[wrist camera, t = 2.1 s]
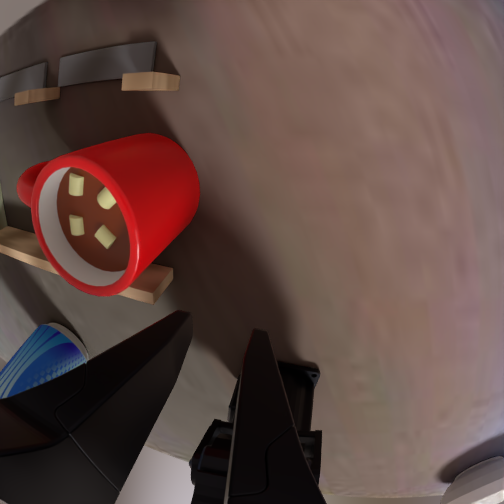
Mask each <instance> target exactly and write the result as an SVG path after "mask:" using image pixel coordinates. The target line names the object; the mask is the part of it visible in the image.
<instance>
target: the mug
mask: <svg viewBox="0 0 504 504" xmlns="http://www.w3.org/2000/svg"><path fill="white" fill-rule="evenodd" d="M17 193H18V196H19V198H20V200H21V201H22V202H23V203H25V204H26V205H27V206H29V207H30V208H31V214H32V222H33V226H34V230H35V234H36V237H37V240H38V242H39V245H40V247H41V249H42V251H43V253H44V254H45V256H46V258H47V259H48V261H49V262H50V264H51V265H52V267H53V268H54V269H55V270H56V271H57V272H58V273H59V275H60V276H61V277H63V278H64V279H65V280H66V281H67V282H68V283H69V284H71V285H73V286H74V287H76V288H77V289H79V290H81V291H83V292H86V293H88V294H91V295H96V296H112V295H116V294H119V293H121V292H122V291H124V290H125V289H127V288H128V287H129V286H130V285H131V284H132V283H133V282H134V280H135V279H136V278H137V277H138V276H139V275H140V274H141V273H142V272H143V271H144V270H145V269H146V268H147V267H148V266H149V265H150V264H151V262H152V261H153V260H154V259H155V258H156V257H157V256H158V255H159V254H160V253H161V252H162V251H163V250H164V249H165V248H166V247H167V246H168V245H169V244H170V243H171V242H172V241H173V240H174V239H175V238H176V237H177V236H178V235H179V234H180V233H181V232H182V231H183V230H184V229H185V228H186V227H187V226H188V225H189V224H190V222H191V221H192V219H193V217H194V216H195V213H196V211H197V208H198V205H199V198H200V186H199V180H198V175H197V172H196V169H195V167H194V165H193V162H192V161H191V159H190V158H189V156H188V155H187V153H186V152H185V151H184V150H183V149H182V148H181V147H180V146H179V145H178V144H177V143H175V142H174V141H172V140H171V139H169V138H167V137H165V136H162V135H159V134H153V133H142V134H136V135H132V136H128V137H124V138H120V139H116V140H112V141H108V142H104V143H101V144H97V145H94V146H90V147H87V148H83V149H80V150H77V151H74V152H70V153H67V154H64V155H61V156H59V157H57V158H55V159H53V160H51V161H46V162H42V163H39V164H36V165H34V166H32V167H30V168H28V169H27V170H26V171H25V172H24V173H23V174H22V175H21V176H20V178H19V180H18V183H17Z"/></svg>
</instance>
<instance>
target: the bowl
mask: <svg viewBox="0 0 504 504" xmlns="http://www.w3.org/2000/svg"><path fill="white" fill-rule="evenodd" d="M502 501H504V458H503V457H502V456H498V457H493V458H490V459H487V460H485V461H482V462H480V463H478V464H476V465H473V466H472V467H470V468H468V469H466V470H464V471H463V472H461V473H460V474H459V475H457V476H456V478H455V481H454V482H453V483H452V484H451V485H450V486H449V487H448V488H447V490H446V492H445V493H444V495H443V497H442V499H441V502H440V504H498V503H500V502H502Z"/></svg>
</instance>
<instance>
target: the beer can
mask: <svg viewBox="0 0 504 504" xmlns="http://www.w3.org/2000/svg"><path fill="white" fill-rule="evenodd" d="M87 361H88V353H87V350H86V348H85V347H84V345H83V344H82V342H81V341H80V340H79V339H78V338H77V337H76V336H75V335H74V334H73V333H72V332H71V331H69V330H68V329H67V328H65V327H64V326H62V325H60V324H57V323H49V324H41V325H40V326H38V328H37V329H36V330H35V331H34V332H33V333H32V334H31V336H30V337H29V338H28V339H27V340H26V341H25V343H24V344H23V345H22V346H21V347H20V348H19V350H18V351H17V352H16V353H15V354H14V356H13V357H12V358H11V359H10V361H9V362H8V363H7V364H6V366H5V367H4V368H3V369H2V371H1V372H0V399H2V398H6V397H10V396H13V395H15V394H18V393H20V392H23V391H25V390H28V389H30V388H32V387H35V386H37V385H40V384H42V383H45V382H47V381H49V380H51V379H54V378H56V377H58V376H60V375H62V374H64V373H66V372H68V371H70V370H72V369H74V368H76V367H77V366H79V365H81V364H83V363H86V362H87Z"/></svg>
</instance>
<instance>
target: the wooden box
mask: <svg viewBox="0 0 504 504" xmlns="http://www.w3.org/2000/svg"><path fill="white" fill-rule="evenodd" d="M156 44H157V42H155V41H152V42H143V43H135V44H127V45H121V46H114V47H108V48H103V49H98V50H93V51H88V52H83V53H79V54H74V55H70V56H66V57H62V58H60V64H59V76H58V87H52V88H46V74H47V63H48V62H44V63H41V64H38V65H35V66H32V67H29V68H26V69H23V70H20V71H17V72H14V73H12V74H9V75H6V76H4V77H1V78H0V101H2V100H6V99H9V98H13V97H15V104H14V106H17V105H22V104H28V103H34V102H41V101H47V100H54V99H60V87H62V86H68V85H74V84H80V83H87V82H95V81H103V80H112V79H122V91H179V82H180V76H178V75H172V74H166V73H159V72H153V69H154V60H155V52H156ZM0 252H1V253H3V254H6V255H8V256H10V257H13V258H15V259H18V260H21V261H23V262H26V263H28V264H31V265H34V266H36V267H39V268H42V269H44V270H47V271H50V272H53V273H55V274H58V275H59V273H58V272H57V271H56V270H55V269H54V268H53V267H52V265H51V264H50V262H49V261H48V259H47V258H46V256H45V254H44V253H43V251H42V249H41V247H40V245H39V242H38V240H37V237H36V234H35V233H31V232H27V231H24V230H20V229H17V228H13V227H10V226H7V221H6V215H5V210H4V204H3V198H2V191H1V183H0ZM172 280H173V268H170V267H166V266H161V265H157V264H153V263H151V264H150V265H149V266H148V267H147V268H146V269H145V270H144V271H143V272H142V273H141V274H140V275H139V276H138V277H137V278H136V279H135V280H134V282H133V283H132V284H131V285H130V286H129V287H128V288H127V289H125V290H124V291H122V292H121V293H119V295H122V296H125V297H129V298H132V299H135V300H139V301H142V302H146V303H149V304H153V305H154V304H155V302H156V301H157V300H158V298H159V297H160V296H161V294H162V293H163V292H164V290H165V289H166V288H167V287H168V285H169V284H170V283H171V281H172Z"/></svg>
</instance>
